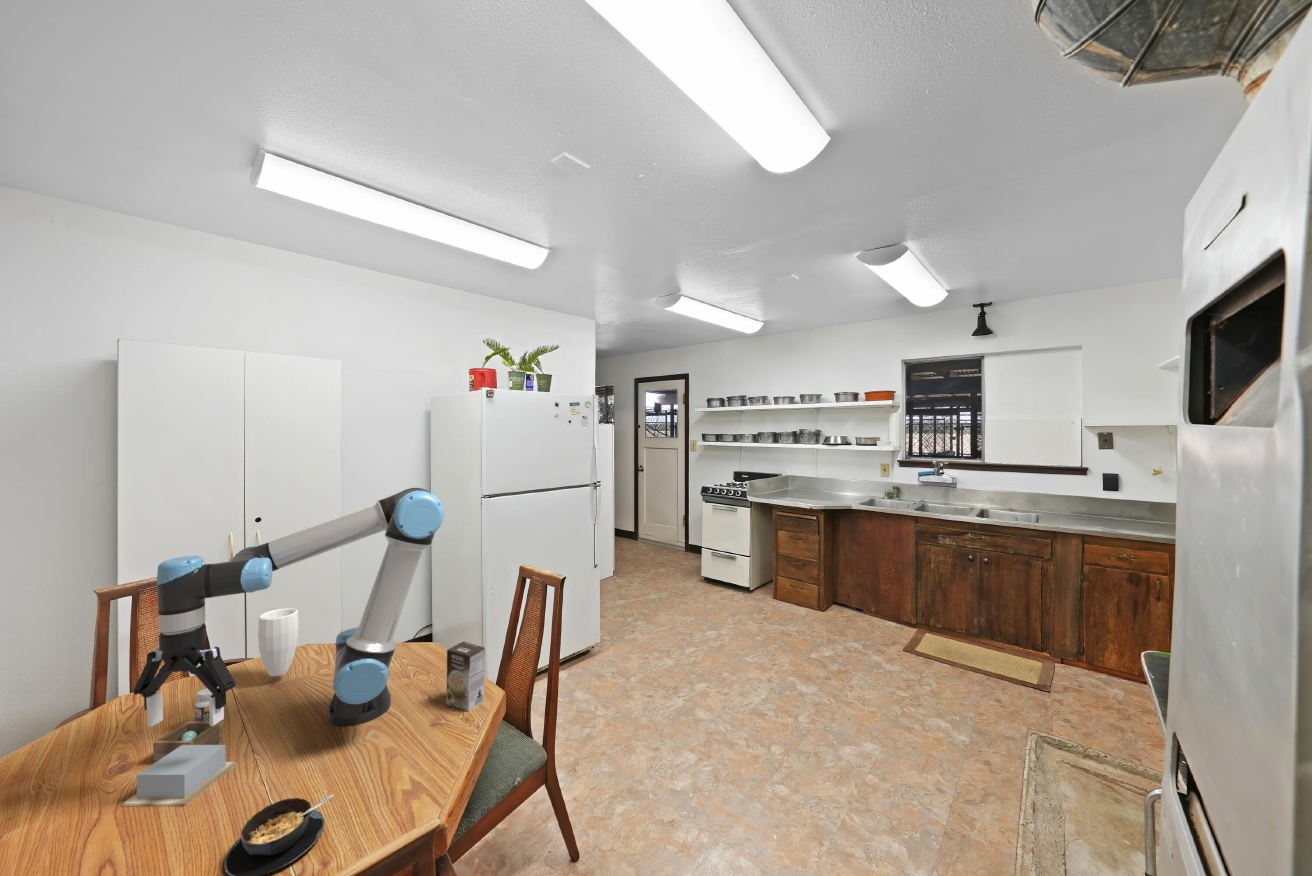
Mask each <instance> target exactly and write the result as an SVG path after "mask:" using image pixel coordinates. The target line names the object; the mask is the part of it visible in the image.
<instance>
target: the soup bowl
mask: <svg viewBox="0 0 1312 876" xmlns="http://www.w3.org/2000/svg"><path fill="white" fill-rule="evenodd" d="M334 796H335V795H334V794H331V795H328V796H327V797H326V798H324V799H322V800H321V801H318V802H316V803H315V804H314V805H312V804H311V802H310V801H308V800H307V799H304V798H301V797H300V798H299V797H292V798H291V797H290V798H285V799H282V800H279V801H276V802H274V803H272V804H268V805H267V806H265V807H263V808H262V809H261V810H259V811H258V812H256V813H255V814H254V815H253V816H252V817H250V819H248V820H247V822H246V823H245V824H244V826H243V827H242V829H241V832H240V836H239V837H240V838H238V839H237V840H236V841H235V842H234V844H233V845H232V846H231V847H230V849H228V852H227V854H225V858H224V862H223V871H224V873H226V876H262V875H267V874H270V873H272V872H275V871H277V870H279V869H281V868H283V867H285V866H287V865H289V864H291V863H293V862H295V861H296V860H298V859H299V858H300V857H301V856H303V855H304V854H305V853H307V852H309V850H310V849H311V848H312V847H313V845H315V843H317V841H318V840H319V839H320V837H321V835H322V833H323V830H324V828H325V818H324V815H323V814H322V813H321V811H319V810H316V809H317V808H318V807H320V806H321V805H323V804H325V803H327V802H328V801H330V799H332V798H333V797H334Z"/></svg>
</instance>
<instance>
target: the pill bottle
mask: <svg viewBox="0 0 1312 876" xmlns="http://www.w3.org/2000/svg"><path fill="white" fill-rule="evenodd" d="M217 688H219V687H217ZM211 695H212V693H211V692H210V691H209V690H208V688H207V687H205V688H203V689H201V690H199V691H198V692H197V699H198V700H197V701H196V702H195V704H194V721H210V714H209V696H211ZM224 720H225V718H224V719H223V720H221V722H222V725H223V724H224Z"/></svg>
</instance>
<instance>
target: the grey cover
mask: <svg viewBox="0 0 1312 876" xmlns="http://www.w3.org/2000/svg"><path fill="white" fill-rule="evenodd" d="M226 747H227V746H226V744H217V745H181V746H180V747H178V748H177V749H175V750H174V751H172V752H171V753H169V754H168V755H166V756H165V757H163V758H162V759H160V760H159V761H157V762H155V763H154V764H153V763H152V764H151V765H150V766H148V767H147V768H145V769H144V770H142V771H140V772H139V773H137V774H136V794H137V798H186V797H187V796H188V795H189V794H191V793H192V792H193V791H194V790H196V789H197V788H198V787H200V786H201V785H202V784H203V783H205V782H206V781H207V780H209V779H210V778H211V777H212V776H214V775H215V774H216V773H218V772H219V771H220V770H221V769H223V768H224V767H225V766H226V762H227V761H226V758H227V757H226V752H227V751H226Z"/></svg>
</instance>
